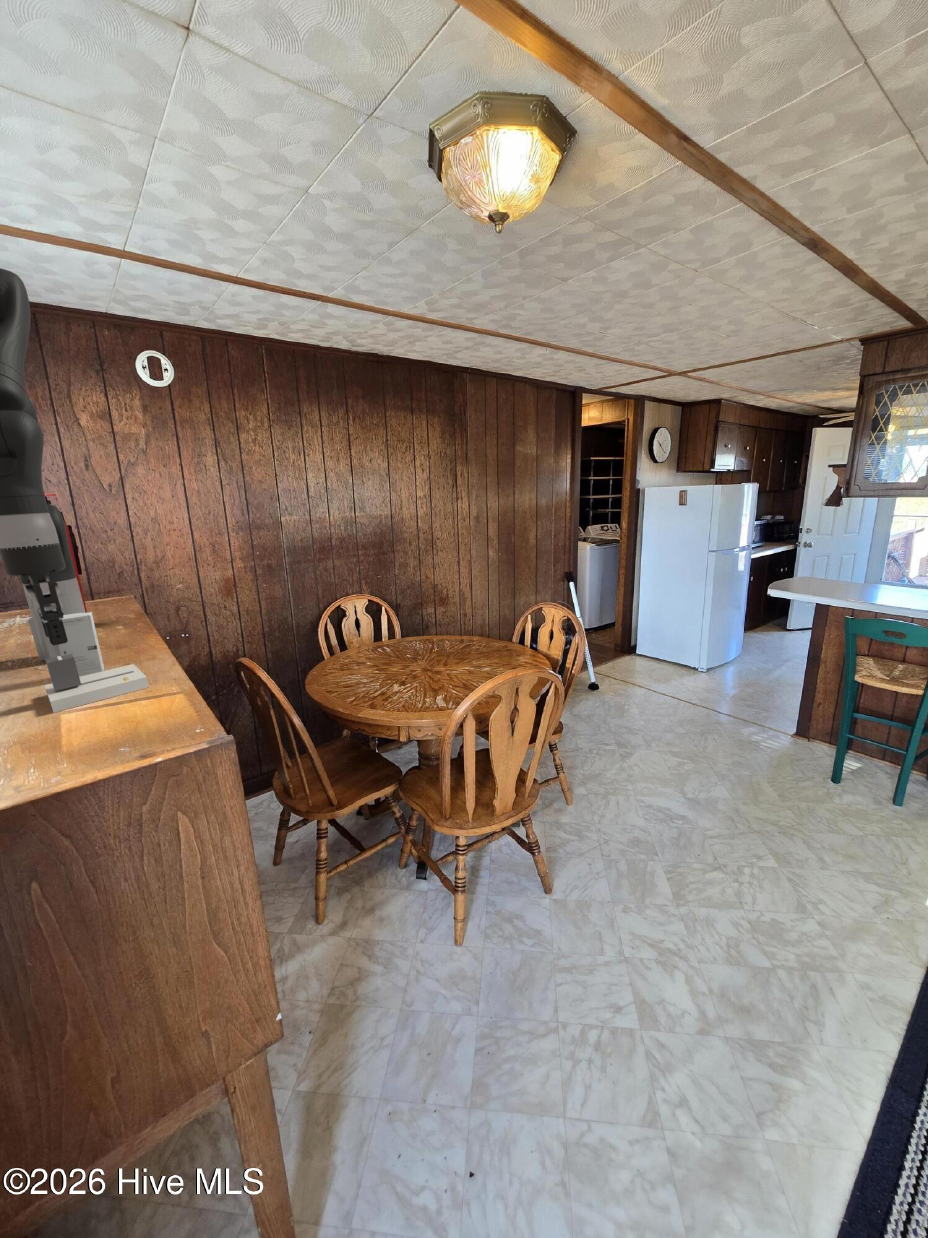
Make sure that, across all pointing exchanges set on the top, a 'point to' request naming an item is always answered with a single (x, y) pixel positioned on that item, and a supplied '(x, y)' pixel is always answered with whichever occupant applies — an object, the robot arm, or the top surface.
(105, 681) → the fader console
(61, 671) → the fader knob
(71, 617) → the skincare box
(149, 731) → the top surface
